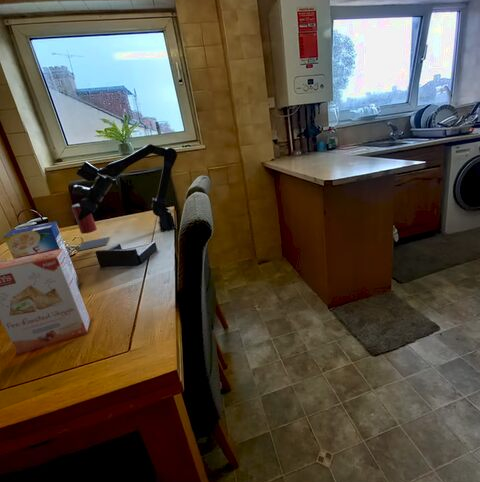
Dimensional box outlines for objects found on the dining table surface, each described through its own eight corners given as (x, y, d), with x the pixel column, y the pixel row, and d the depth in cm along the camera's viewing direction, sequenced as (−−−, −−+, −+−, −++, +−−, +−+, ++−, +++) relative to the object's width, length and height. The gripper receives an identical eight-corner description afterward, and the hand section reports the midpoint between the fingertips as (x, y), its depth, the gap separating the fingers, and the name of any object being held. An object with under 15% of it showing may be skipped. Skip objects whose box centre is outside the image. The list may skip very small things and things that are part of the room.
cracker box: (17, 356, 62) (-27, 275, 55) (27, 339, 67) (-12, 263, 60) (88, 334, 67) (56, 256, 60) (91, 320, 72) (62, 246, 65)
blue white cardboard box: (77, 293, 86) (51, 227, 78) (35, 305, 82) (2, 236, 74) (80, 283, 92) (56, 221, 84) (41, 294, 88) (11, 230, 80)
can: (100, 228, 125) (91, 202, 121) (86, 234, 120) (76, 206, 116) (91, 228, 128) (82, 202, 124) (77, 233, 123) (67, 206, 119)
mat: (109, 237, 134) (108, 237, 134) (105, 245, 124) (105, 244, 124) (83, 242, 131) (83, 242, 131) (77, 251, 121) (77, 250, 121)
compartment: (120, 253, 113) (115, 237, 111) (158, 251, 111) (153, 235, 108) (99, 269, 101) (93, 251, 99) (140, 267, 99) (135, 249, 96)
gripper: (85, 175, 125) (66, 203, 126) (76, 180, 109) (54, 213, 109) (109, 189, 131) (91, 216, 131) (105, 196, 114) (83, 227, 115)
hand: (80, 217), depth 121 cm, fingers closed on can, 6 cm apart
